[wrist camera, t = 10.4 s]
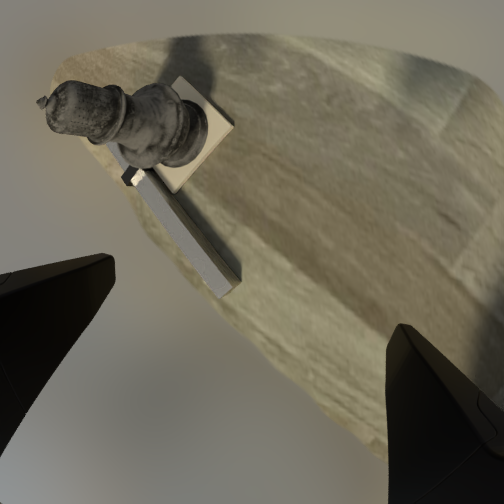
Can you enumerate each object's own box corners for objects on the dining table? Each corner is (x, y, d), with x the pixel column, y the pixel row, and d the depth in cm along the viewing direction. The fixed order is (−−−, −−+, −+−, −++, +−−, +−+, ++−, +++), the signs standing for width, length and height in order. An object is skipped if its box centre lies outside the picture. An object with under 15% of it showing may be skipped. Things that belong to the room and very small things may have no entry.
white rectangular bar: (243, 280, 22) (231, 286, 20) (226, 296, 23) (213, 303, 21) (127, 131, 24) (111, 128, 23) (115, 148, 25) (100, 145, 23)
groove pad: (234, 127, 21) (231, 125, 20) (175, 193, 23) (172, 193, 23) (182, 77, 22) (179, 75, 21) (133, 139, 24) (130, 138, 24)
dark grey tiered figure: (227, 119, 20) (88, 62, 9) (182, 187, 22) (34, 185, 12) (174, 84, 22) (46, 34, 11) (136, 146, 24) (4, 130, 13)
